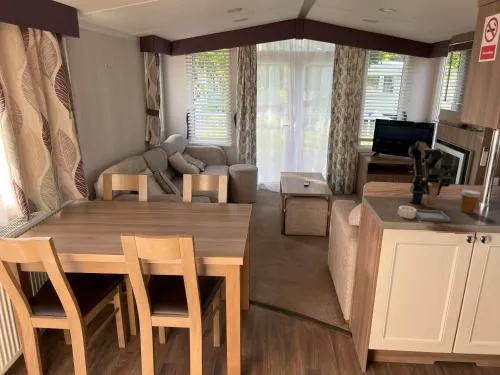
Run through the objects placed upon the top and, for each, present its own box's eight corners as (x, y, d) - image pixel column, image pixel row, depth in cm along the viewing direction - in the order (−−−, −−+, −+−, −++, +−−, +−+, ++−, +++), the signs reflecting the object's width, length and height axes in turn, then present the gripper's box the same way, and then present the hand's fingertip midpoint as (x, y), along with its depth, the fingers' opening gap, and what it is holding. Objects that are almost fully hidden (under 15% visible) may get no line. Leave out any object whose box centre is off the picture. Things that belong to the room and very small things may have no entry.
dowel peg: (424, 203, 204) (428, 181, 200) (434, 204, 203) (438, 182, 199) (426, 206, 199) (430, 184, 195) (435, 207, 198) (440, 185, 194)
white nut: (401, 211, 209) (402, 204, 208) (416, 215, 204) (418, 208, 203) (395, 215, 203) (397, 208, 202) (411, 219, 198) (413, 212, 197)
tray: (413, 211, 209) (413, 209, 209) (440, 213, 208) (441, 210, 208) (420, 220, 198) (421, 217, 197) (450, 221, 197) (450, 219, 196)
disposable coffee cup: (471, 209, 217) (476, 189, 214) (479, 215, 208) (484, 194, 205) (454, 208, 218) (458, 188, 215) (461, 213, 209) (466, 193, 206)
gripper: (417, 160, 199) (419, 186, 192) (454, 163, 196) (458, 189, 189) (411, 171, 209) (412, 196, 202) (446, 173, 206) (449, 199, 199)
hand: (433, 195), depth 198 cm, fingers closed on dowel peg, 5 cm apart
